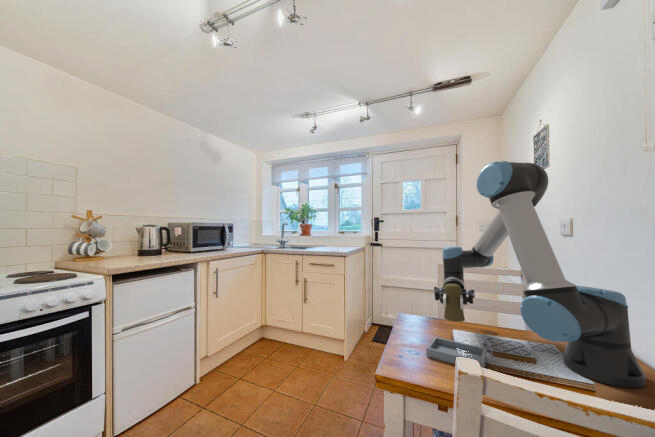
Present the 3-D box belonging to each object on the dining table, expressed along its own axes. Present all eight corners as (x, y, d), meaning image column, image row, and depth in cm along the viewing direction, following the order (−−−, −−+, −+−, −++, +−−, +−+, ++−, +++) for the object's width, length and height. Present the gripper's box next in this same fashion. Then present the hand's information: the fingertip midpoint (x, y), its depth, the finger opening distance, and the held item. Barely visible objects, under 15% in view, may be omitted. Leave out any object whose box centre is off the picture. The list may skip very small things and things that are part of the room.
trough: (487, 356, 77) (486, 348, 77) (483, 372, 69) (483, 362, 69) (435, 344, 87) (434, 336, 87) (426, 356, 78) (426, 348, 78)
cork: (469, 319, 77) (467, 284, 78) (455, 322, 75) (453, 286, 76) (453, 314, 83) (451, 281, 83) (439, 316, 80) (438, 283, 81)
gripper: (479, 300, 91) (486, 320, 70) (430, 295, 99) (423, 312, 78) (478, 279, 91) (485, 294, 71) (429, 277, 99) (422, 289, 79)
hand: (452, 303), depth 74 cm, fingers closed on cork, 4 cm apart
